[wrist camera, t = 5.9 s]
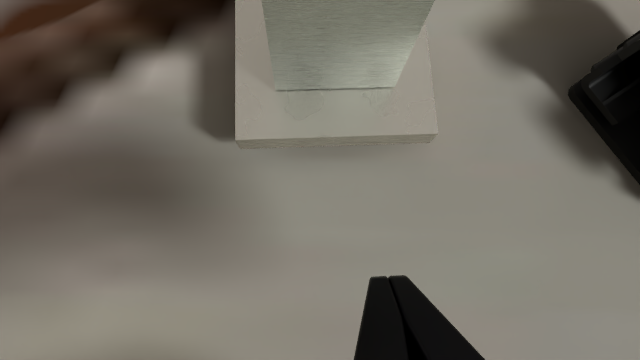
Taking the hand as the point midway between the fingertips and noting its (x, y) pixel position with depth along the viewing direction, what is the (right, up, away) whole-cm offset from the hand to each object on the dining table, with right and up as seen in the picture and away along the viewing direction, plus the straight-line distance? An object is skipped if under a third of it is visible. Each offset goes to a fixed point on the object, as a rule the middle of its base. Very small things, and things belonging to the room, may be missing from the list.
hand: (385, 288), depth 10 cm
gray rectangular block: (-1, +9, +15) cm, 17 cm away
